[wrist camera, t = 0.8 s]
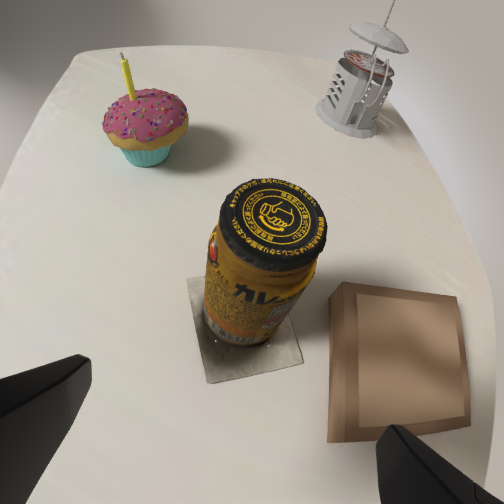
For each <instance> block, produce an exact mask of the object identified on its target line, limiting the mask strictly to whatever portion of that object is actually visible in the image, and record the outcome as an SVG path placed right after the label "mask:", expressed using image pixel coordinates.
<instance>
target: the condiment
mask: <svg viewBox="0 0 504 504" xmlns="http://www.w3.org/2000/svg"><path fill="white" fill-rule="evenodd" d="M326 235H327V222H326V218H325V216H324V213H323V211H322V209H321V208H320V205H319V204H318V203H317V201H316V200H315V199H314V198H313V197H311V196H310V195H309V194H308V193H307V192H306V191H305V190H304V189H302V188H301V187H299V186H296V185H294V184H292V183H289V182H286V181H283V180H278V179H272V178H270V179H252V180H250V181H248V182H245V183H243V184H241V185H239V186H238V187H237V188H235V189H234V190H233V191H232V192H231V193H230V194H228V195H227V196H226V199H225V201H224V202H223V204H222V206H221V209H220V216H219V221H218V224H217V225H216V227H215V229H214V230H213V232H212V234H211V237H210V239H209V245H208V254H207V265H206V276H203V277H195V278H189V279H187V285H188V291H189V296H190V302H191V307H192V312H193V318H194V323H195V328H196V333H197V337H198V341H199V347H200V352H201V357H202V361H203V365H204V370H205V374H206V379H207V383H208V384H209V383H215V382H221V381H226V380H231V379H236V378H242V377H247V376H251V375H256V374H260V373H264V372H269V371H273V370H277V369H282V368H286V367H289V366H293V365H297V364H301V363H303V360H302V357H301V353H300V350H299V347H298V344H297V340H296V337H295V335H294V331H293V327H292V324H291V322H290V318H289V315H288V313H289V311H290V310H291V308H292V307H293V306H294V305H295V303H296V301H297V300H298V299H299V297H300V295H301V294H302V293H303V291H304V290H305V288H306V287H307V285H308V283H309V282H310V280H311V279H312V278H313V276H314V274H315V268H316V264H317V258H318V255H319V253H321V252H322V251H323V248H324V246H325V242H326ZM270 339H272V341H271V342H269V340H270ZM215 340H216V341H217V342H215ZM268 343H270V347H268V348H267V345H268Z"/></svg>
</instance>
